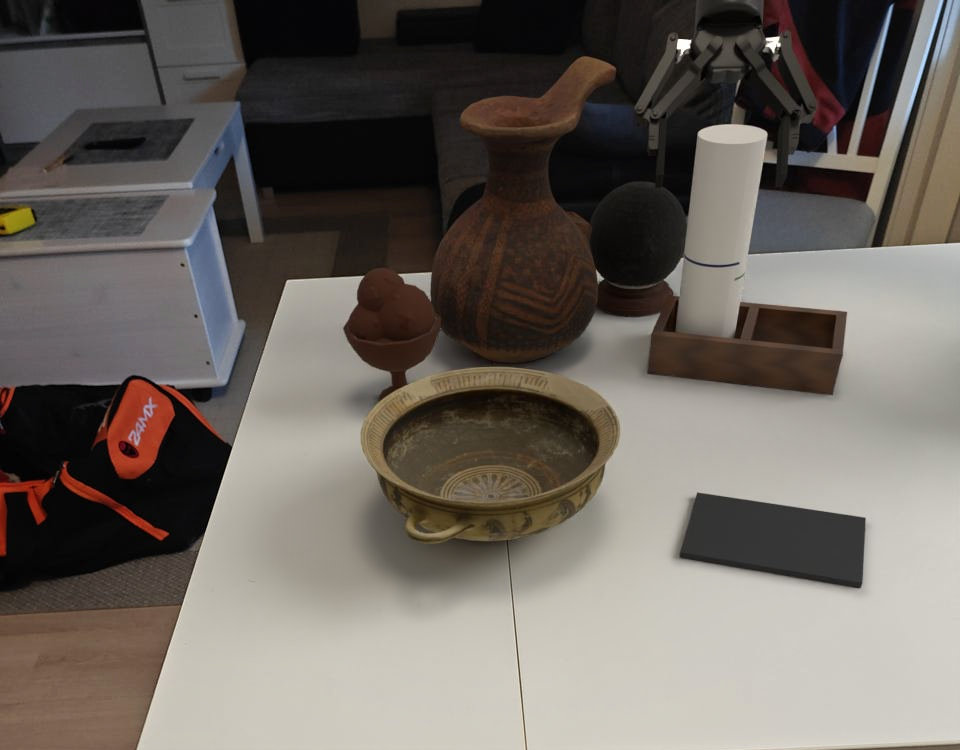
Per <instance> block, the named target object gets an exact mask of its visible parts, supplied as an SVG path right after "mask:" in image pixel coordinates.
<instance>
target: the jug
mask: <svg viewBox="0 0 960 750" xmlns="http://www.w3.org/2000/svg"><path fill="white" fill-rule="evenodd" d="M616 74H617V68H616V67H615V66H614V65H612V64H610V63H609V62H607V61H604V60H601V59H598V58H595V57H591V56H581V57H578V58H577V59H576V60H574V62H573V63H571V65H570V66H568V68H567V69H566V70H565V71H564V72H563V74H562V75H561V76H560V77H559V79H557V81H555V83H554V84H553V85H552V86H551V87H550V88H549V89H548V90H547V91H546V92H545V93H544V94H543V95H542V96H540V97H539V98H538V97H526V96H515V95H501V96H495V97H494V96H493V97H488V98H484V99H480V100H478V101H476V102H473V103H471V104H469V106H468V107H466V108H465V109H463V111H462V113H461V114H460V117H459V124H460V126H461V127H462V129H464V130H465V131H467V132H469V133H471V134H473V135H476V136H478V137H479V138H480V140H481V142H482V144H483V146H484V148H485V151H486V154H487V155H486V156H487V161H488V172H487V176H486V177H487V178H486V181H485V182H486V183H485V187H484V191H483V192H484V193H483V195H482V197H481V198H479V199H478V200H477V201H476V202H474V203H473V204H472V205H471V206H469V207H468V208H467V209H465V211H464V212H462V214H461V215H460V216H458V218H457V219H456V220H455V221H454V222H453V223H452V225H451V226H450V227H449V229H448V230H447V232H446V233H445V234H444V236H443V238H442V239H441V241H440V243H439V245H438V247H437V249H436V252H435V254H434V259H433V261H432V268H431V273H430V290H429V291H430V294H429V295H430V301H431V303H432V304H433V307H434V311H435V313H436V314H437V315H438V316H439V317H440V318H441V324H440V331H442V332H443V334H445V336H447V337H448V338H450V339H451V340H454V341H455V342H457V343H459V344H461V345H462V346H464V347H466V348H467V349H469V350H470V351H472V352H474V353H475V354H477V355H479V356H480V357H482V358H485V359H487V360H489V361H492V362H495V363H500V364H521V363H528V362H531V361H532V362H533V361H536V360H540V359H542V358H545V357H547V356H550V355H551V354H553V353H555V352H557V351H560V350H561V349H563V348H565V347H566V346H568V345H570V344H572V343H573V342H574V341H576V340H577V339H578V338H580V336H582V334H583V333H584V332H585V331H586V329H587V328H588V327H589V325H590V324H591V321H592V319H593V317H594V315H595V312H596V308H597V307H596V305H597V300H598V284H599V281H598V271H597V270H596V268H595V264H594V260H593V256H592V253H591V249H590V244H589V243H590V236H591V232H592V226H591V225H590V222H588V221H587V220H585V219H584V218H583V217H582V216H580V215H578V214H577V213H576V212H575V211H565V210H564V209H563V208H562V206H560V204H559V203H558V202H556V199H555V198H554V195H553V193H552V190H551V184H550V179H549V163H550V161H549V160H550V156H551V153H552V151H553V149H554V146H555V144H556V143H557V142H558V140H559V139H560V138H562V137H563V136H564V135H565V134H567V133H571V132H573V131H574V129H576V128H577V125H578V124H579V122H580V119H581V115H582V111H583V109H584V107H585V106H586V103H587V99H588V98H589V96H590V95H591V94H592V93H593V92H594V91H595V90H596V89H597V88H599V87H602V86H604V85H605V84H611V83H612V82H614V81H616V80H615V79H616Z"/></svg>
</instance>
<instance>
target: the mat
mask: <svg viewBox="0 0 960 750" xmlns="http://www.w3.org/2000/svg"><path fill="white" fill-rule="evenodd" d="M866 521H867V518H866V517H865V516H857V515H852V514H844V513H839V512H838V513H836V512H831V511H824V510H817V509H811V508H805V507H797V506H792V505H791V506H790V505H784V504H778V503H770V502H766V501H765V502H764V501H758V500H752V499H744V498H737V497H731V496H725V495H719V494H711V493H704V492H696V495H695V498H694V503H693V506H692V510H691V512H690V517H689V520H688V524H687V527H686V531H685V534H684V538H683V542H682V545H681V548H680V552H679V558H684V559H689V560H695V561H699V562H707V563H713V564H720V565H725V566H730V567H736V568H742V569H748V570H752V571H753V570H755V571H759V572H766V573H772V574H778V575H784V576H790V577H795V578H801V579H807V580H813V581H819V582H825V583H831V584H835V585H836V584H837V585H842V586H849V587H854V588H862V585H863V580H864V562H865V561H864V559H865V557H864V556H865V541H866Z"/></svg>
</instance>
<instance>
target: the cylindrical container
mask: <svg viewBox="0 0 960 750" xmlns="http://www.w3.org/2000/svg"><path fill="white" fill-rule="evenodd" d="M768 136H769V135H768V132H767V131H766V130H765V129H763V128H761V127H757V126H754V125H748V124H736V123H735V124H734V123H732V124H731V123H729V124H727V123H726V124H717V125H716V124H715V125H711V126H706V127H704V128H702V129H700V130H699V131H698V132H697V138H696V147H695V154H694V163H693V164H694V165H693V171H692V172H693V173H692V179H691V180H692V181H691V190H690V199H689V206H688V207H689V208H688V216H687V233H686V242H685V250H684V253H683V261H682V268H681V277H680V278H681V279H680V287H679V295H678V296H679V303H678V312H677V321H676V330H675V333H685V334H695V335H705V336H714V337H724V338H734V337H735V331H736V324H737V318H738V312H739V306H740V302H741V300H742V295H743V287H744V281H745V276H746V269H747V264H748V257H749V251H750V245H751V237H752V231H753V225H754V219H755V215H756V207H757V202H758V195H759V189H760V183H761V178H762V171H763V165H764V158H765V154H766V147H767V140H768Z"/></svg>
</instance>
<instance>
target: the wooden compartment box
mask: <svg viewBox="0 0 960 750" xmlns="http://www.w3.org/2000/svg"><path fill="white" fill-rule="evenodd" d="M678 303H679V295H673V296H671V295H668V297H667V300H666V302H665V304H664V306H663V309H662V311H661V312H659V313H660V314H659V315H658V318H657V320H656V322H655V325H654V327H653V329H652V332H651V334H650V341H649V350H648V351H649V353H648V363H647V374H652V375H653V374H654V375H659V376H660V375H661V376H669V377H676V378H685V379H695V380H703V381H712V382H719V383H720V382H721V383H729V384H736V385H738V384H739V385H748V386H755V387H764V388H772V389H781V390H790V391H798V392H807V393H813V394H815V393H816V394H823V395H824V394H825V395H833V394H834V390H835V387H836V382H837V378H838V375H839V371H840V367H841V363H842V359H843V356H844V355H843V354H844V349H845V339H846V329H847V328H846V327H847V318H848V311H844V310H833V309H824V308H822V309H821V308H811V307H800V306H789V305H781V304H778V305H777V304H767V303H757V302H745V301H740V306H739V312H738V318H737V324H736V331H735V337H734V338H724V337H714V336H705V335H695V334H685V333H675V330H676V321H677V312H678Z"/></svg>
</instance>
